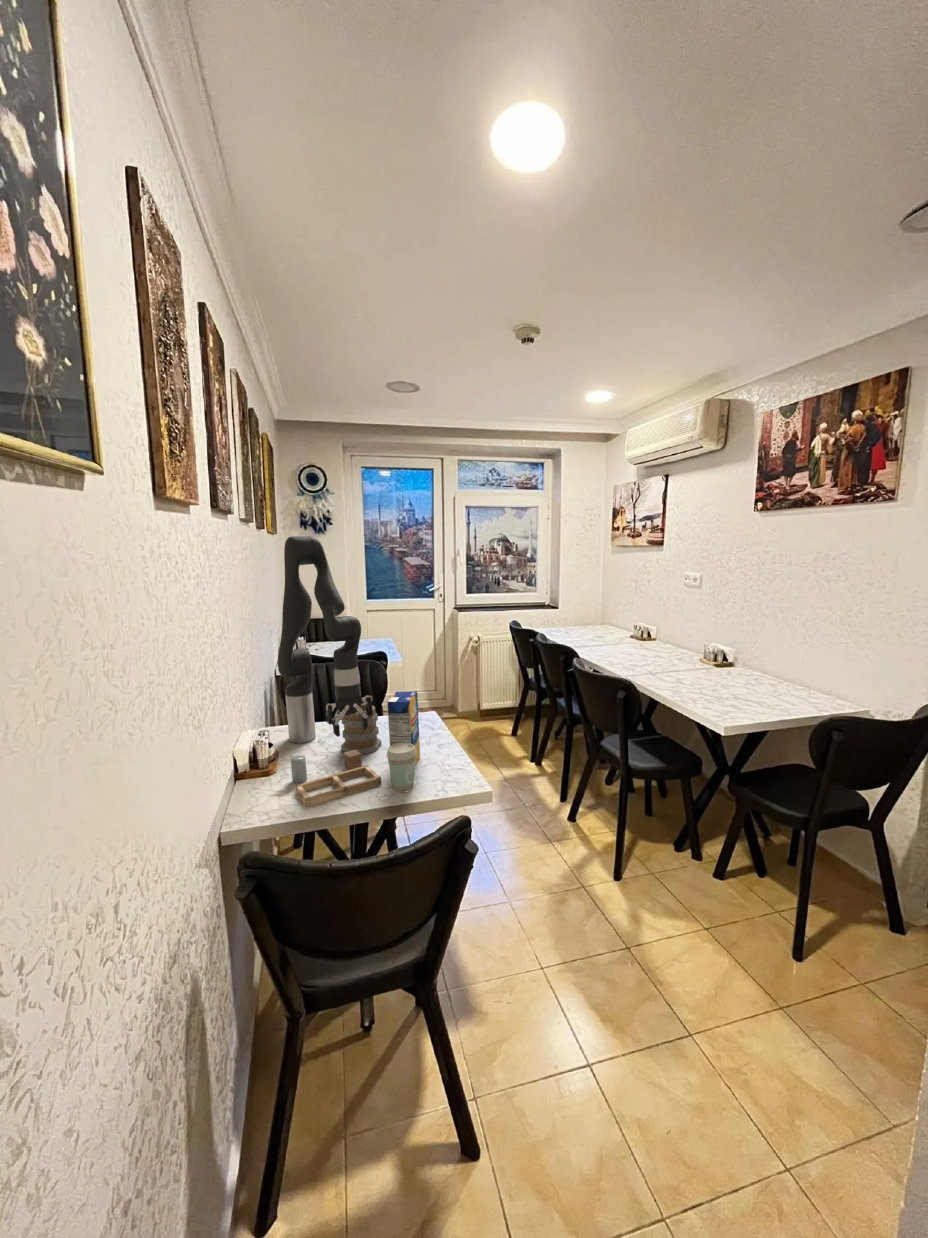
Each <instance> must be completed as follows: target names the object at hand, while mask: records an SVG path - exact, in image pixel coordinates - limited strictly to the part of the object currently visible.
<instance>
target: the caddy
mask: <svg viewBox="0 0 928 1238" xmlns="http://www.w3.org/2000/svg"><path fill="white" fill-rule="evenodd" d="M362 775H366V776H367V777H368V779H365V780H362V781H358V782H355V783H352V784H348V785H346V784H345V783H344V782H343V781H345V780H348V779H352V778H355V777H358V776H362ZM332 784H333V785H334V787H336V789H331V790H329V791H326V792H322V793H319V794H318V793H317V794H315V795H311V796H310V795H309V794H308V791H310V790H315V789H319V788H321V787H325V786H328V785H332ZM379 785H382V776H381V775H379V774H378V773H377V772H376V771H375V770H374V769H372V768H371V767H370V765H363V766H362V767H359V768H355V769H352V770H344V771H341V772H339V773H335V774H331V775H327V776H324V777H320V778H317V779H313V780H310V781H305V782H303V783H299V784H296V785H295V788H296V793H297V795H298V796H299V798H300V799H301V800H302V802H303V804H304V805H305V806H306V808H308V807H309V808H310V807H312V806H316V805H318V804H321V803H325V802H328V801H331V800H334V799H338V798H341V797H344V796H347V795H350V794H354V793H357V792H360V791H364V790H366V789H370V788H373V787H376V786H379Z"/></svg>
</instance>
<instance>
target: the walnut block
mask: <svg viewBox="0 0 928 1238" xmlns="http://www.w3.org/2000/svg"><path fill="white" fill-rule="evenodd" d="M343 758H344V761H343V762H344V768H345V769H346V771H348V770H352V769H355V768H359V767H362V765H363V764H362V755H361V754H360V753H359V752H358V751H357V750H353V751H349V752H345V751H344V752H343Z"/></svg>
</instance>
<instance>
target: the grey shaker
mask: <svg viewBox="0 0 928 1238" xmlns="http://www.w3.org/2000/svg"><path fill="white" fill-rule="evenodd" d="M306 758H307V757H306V756H305V755H304V754H303V755H302V754H300V755H295V756H292V757H290V768H291V769H290V770H291V778H292V779H291V780H292V783H293V784H296V785H299V784H302V783H306V782H308V781H307V780H308V773H307V761H306Z"/></svg>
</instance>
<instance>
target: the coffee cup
mask: <svg viewBox="0 0 928 1238" xmlns="http://www.w3.org/2000/svg"><path fill="white" fill-rule="evenodd" d="M386 751H387V752H386V758H387V760H388V761H387V762H388V766H389V767H388V768H389V772H390V778H391V784H392V788H393V790H394V791H395V792H397V793H407V792H410V791H412V790H413V789H414V785H415V770H416V766H415V758H416V754H417V752H416V749H415V747H414V745H413V744H410V743H397V744H393V745H391V746H390V745H389V746H388V748H387V750H386Z"/></svg>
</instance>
